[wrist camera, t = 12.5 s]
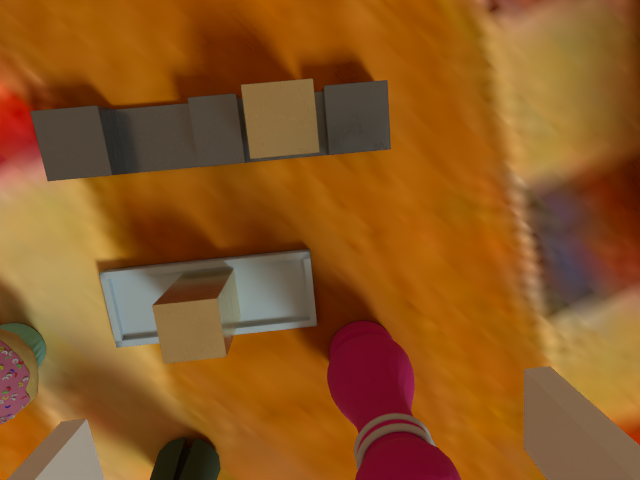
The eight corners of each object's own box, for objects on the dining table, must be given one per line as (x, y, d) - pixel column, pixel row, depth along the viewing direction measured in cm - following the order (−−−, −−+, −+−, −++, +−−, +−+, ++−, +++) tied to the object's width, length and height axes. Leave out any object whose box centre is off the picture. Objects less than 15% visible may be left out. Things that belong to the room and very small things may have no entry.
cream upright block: (309, 95, 30) (312, 78, 23) (314, 152, 31) (319, 152, 24) (253, 100, 30) (240, 84, 23) (260, 157, 31) (250, 158, 24)
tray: (309, 248, 33) (309, 251, 32) (316, 321, 35) (317, 325, 34) (104, 269, 33) (99, 273, 32) (121, 342, 34) (116, 347, 33)
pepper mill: (314, 328, 35) (333, 544, 16) (387, 305, 35) (498, 492, 16) (336, 392, 37) (379, 659, 17) (406, 370, 37) (529, 614, 17)
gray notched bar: (378, 87, 31) (387, 80, 28) (382, 149, 32) (390, 149, 29) (56, 115, 30) (30, 111, 27) (71, 178, 31) (47, 181, 28)
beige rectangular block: (241, 316, 34) (226, 356, 27) (191, 321, 34) (163, 363, 27) (233, 268, 33) (217, 298, 26) (182, 274, 33) (151, 305, 26)
